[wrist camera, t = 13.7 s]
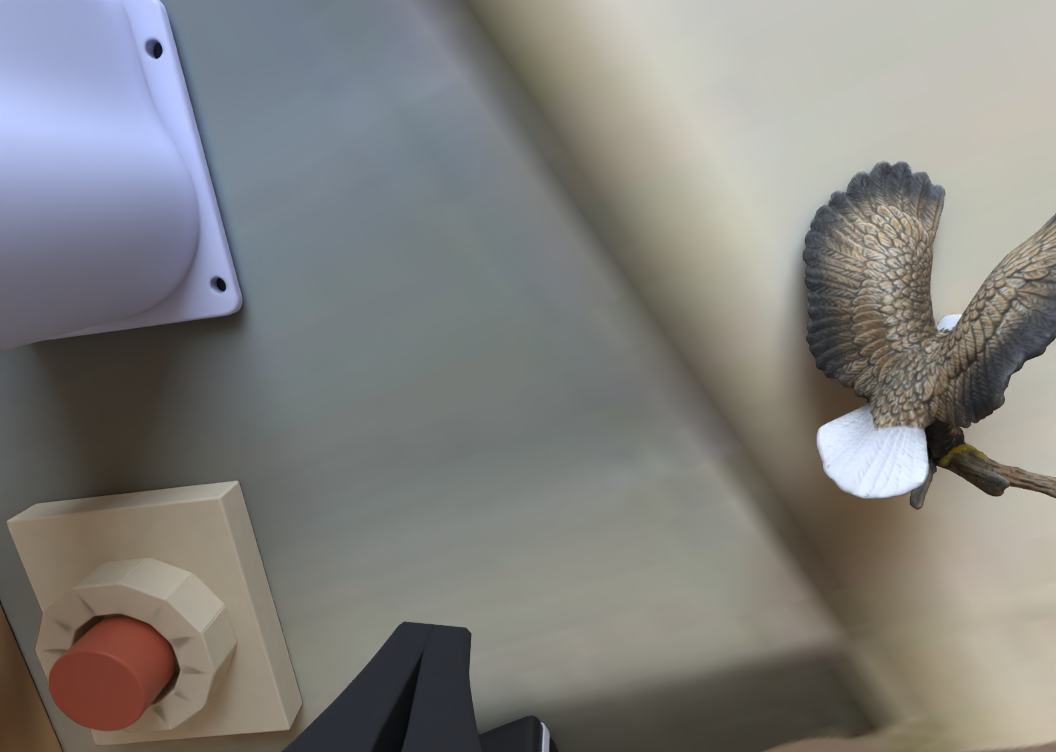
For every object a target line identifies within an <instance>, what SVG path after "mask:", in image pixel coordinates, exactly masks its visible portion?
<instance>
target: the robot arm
mask: <svg viewBox="0 0 1056 752" xmlns="http://www.w3.org/2000/svg"><path fill="white" fill-rule="evenodd" d="M157 43H160V44H161V46H162V52H163V53H162V55H161V57H160V58H158V59H156V58H155V56H154V54H153V48H154V46H155V44H157ZM218 278H221V279H223V280H224V282H225V283H226V290H225V291H224V292H223V291H221V290H220V289H219V288H218V287H217V279H218ZM241 306H242V295H241V291H240V287H239V283H238V280H237V276H236V272H235V268H234V264H233V261H232V257H231V253H230V249H229V245H228V242H227V238H226V234H225V230H224V227H223V223H222V219H221V215H220V211H219V208H218V204H217V200H216V196H215V192H214V189H213V185H212V181H211V177H210V173H209V170H208V166H207V162H206V158H205V155H204V151H203V147H202V143H201V139H200V136H199V132H198V128H197V124H196V120H195V117H194V113H193V109H192V105H191V101H190V98H189V94H188V90H187V86H186V82H185V79H184V75H183V71H182V67H181V64H180V60H179V56H178V52H177V48H176V45H175V41H174V37H173V33H172V29H171V26H170V22H169V18H168V14H167V11H166V9H165V7H164V5H163V4H162V3H161V1H160V0H0V352H2V351H5V350H9V349H13V348H16V347H20V346H24V345H27V344H31V343H34V342H38V341H44V340H52V339H59V338H66V337H74V336H81V335H88V334H96V333H103V332H110V331H118V330H125V329H132V328H139V327H147V326H154V325H161V324H169V323H176V322H183V321H191V320H198V319H205V318H213V317H220V316H227V315H230V314H233V313H236V312H237V311H238V310H239V309H240V308H241ZM470 648H471V633H470V632H469V630H468V629H467V628H464V627H453V626H443V625H433V624H423V623H413V622H403V623H402V624H400V625H399V626H398V627H397V628H396V630H395V631H394V632H393V634H392V635H391V636H390V637H389V639H388V640H387V641H386V642H385V644H384V645H383V646H382V647H381V649H380V650H379V651H378V652H377V654H376V655H375V656H374V657H373V658H372V659H371V661H370V662H369V663H368V664H367V665H366V667H365V668H364V669H363V670H362V671H361V672H360V673H359V674H358V676H357V677H356V678H355V679H354V680H353V681H352V682H351V683H350V684H349V685H348V687H347V688H346V689H345V690H344V691H343V692H342V693H341V694H340V695H339V696H338V697H337V698H336V700H335V701H334V702H333V703H332V704H331V705H330V706H329V707H328V708H327V709H326V710H325V711H324V712H323V713H322V714H321V715H320V716H318V717H317V718H316V719H315V720H314V721H313V722H312V723H311V724H310V725H309V726H308V727H307V728H306V729H305V730H304V731H303V732H302V733H301V734H300V735H299V736H298V737H297V738H296V739H295V740H294V741H292V742H291V743H290V744H289V745H288V746H287V747H286V748H285V749H284V750H282V751H281V752H482V748H481V744H480V740H479V736H478V731H477V726H476V721H475V715H474V709H473V703H472V696H471V689H470V680H469V665H470Z"/></svg>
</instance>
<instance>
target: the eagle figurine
mask: <svg viewBox="0 0 1056 752" xmlns="http://www.w3.org/2000/svg"><path fill="white" fill-rule="evenodd" d="M944 196H945V189H944V188H943V187H942V186H940V185H933V184H931V181H930V179H929V176H928V175H927V173H925V172H918V173H914V174H912V172H911V167H910V166H909V165H908V163H906V162H904V161H900V162H897V163H896V164H895V165H893V166H892V165H890V163H888V162H887V161H882V162H880V163H878V164H876V166H875V167H874V168H873V170H872V171H871V172H870V173H869V174H866V173H865V172H859V173H857V174H856V175H855V176H854V177H853V178H852V180H851V182H850V183H849V185H848V189H847V193H843V192H841V191H836V192H834V193H833V194H832V195H831V200H830V202H829V205H828V206H826V205H823V206H822V207H820V208H819V209H818V210H817V212H816V215H815V217H814V219H813V220H812V223H811V226H810V227H811V230H810V231H809V232H808V234H807V235H806V237H805V243H806V249H805V250H804V251H803V260H804V261H805V262H806V264H807V267H806V271H805V273H806V277H805V283H806V286H807V288H808V289H809V290H810V293H809V295H808V302H809V307H808V310H807V311H808V314H809V317H810V318H811V322H810V323H809V324H808V325H807V330H808V334H807V336H806V341H807V342H808V344H809V350H810V352H811V354H812V355H813V356H814V358H815V360H816V367H817V368H818V369H819V370H822V371H823V372H824V374H825V376H826V377H827V378H834V379H837V380H838V381H839V382H840V384H841V385H842V386H844V387H852V388H853V389H854V392H855V394H856V396H858V397H862V398H865V399H866V400H867V403H866V404H865V405H864V406H863V407H861V408H858V409H856V410H854V411H852V412H850V413H847V414H846V415H844V416H842V417H839V418H838V419H835V420H833V421H830V422H828V423H827V424H825V425H823V426H822V427H821V428H819V430H818V433H817V448H818V451H819V453H820V457H821V459H822V463H823V469H824V472H825V474H826V475H827V476H828V477H829V478H830V479H831V480H833V481H834V482H835V483H836V484H837V486H838V487H839V488H840V490H841V491H843V492H845V493H848V494H852V495H854V496H856V497H858V498H860V499H887V498H891V497H895V496H903V495H905V494H907V493H909V492H911V495H910V505H911V506H912V507H913V508H915V509H917V510H918V509H920V508H922V506H923V503H924V499H925V495H926V493H927V490H928V488H929V486H930V483H931V481H932V478H933V474H934V473H935V472H937V468H936V466H939V467H942V468H945V469H948V470H950V471H952V472H954V473H956V474H957V475H959V476H961V477H963V478H964V479H966V480H967V481H968V482H970V483H971V484H973V485H975V486H976V487H978V488H979V489H981V490H982V491H984V492H985V493H987V494H989V495H991V496H1001V495H1002V494H1003V493H1004V490H1005V489H1006V488H1008V487H1009V486H1012V487H1018V488H1023V489H1028V490H1033V491H1037V492H1041V493H1044V494H1046V495H1049V496H1051V497H1054V498H1056V478H1055V477H1050V476H1044V475H1039V474H1035V473H1031V472H1027V471H1025V470H1023V469H1020V468H1018V467H1011V466H1005V465H1002V464H999V463H997V462H995V461H993V460H991V459H989V458H988V457H987V456H986V455H985V454H984V453H983V452H980V451H979V450H977V449H976V448H974V447H973V446H971V445H969V444H967V443H965V442H964V434H963V430H962V429H961V428H960V427H963V428H968V427H970V426H971V422H973V423H978V422H979V421H980V420H981V419H984V418H985V417H986V416H989V415H991V414H992V413H993V411H994V410H996V409H998V408H1000V407H1001V406H1002V405H1003V404H1004V401H1005V397H1004V391H1005V389H1006V388H1007V387H1008V384H1009V380H1010V377H1011V375H1012V374H1013V373H1015V372H1017V371H1019V370H1020V369H1021V368H1022V366H1023V364H1024V363H1025V361H1027V360H1029V359H1032V358H1035V357H1038V356H1040V355H1042V354H1043V353H1044V352H1045V350H1046V347H1047V346H1048V345H1049V344H1050V343H1051V342H1052V341H1054V339H1055V338H1056V214H1055V215H1054V216H1053V217H1052V218H1051V219H1050V220H1048V221H1047V223H1046V224H1045V225H1044V226H1043V227H1042V228H1041V229H1040V230H1039V231H1038V232H1037V233H1035V234H1034V235H1033V236H1031V237H1030V238H1029V239H1028V240H1027V241H1025V242H1024V243H1022V244H1021V245H1019V246H1018V247H1017V248H1016V249H1014V250H1013V251H1012V252H1010V253H1009V254H1008V255H1006V256H1005V258H1004V259H1003V260H1002V261H1001V262H1000V263H999V264H998V265H997V267H996V268H995V269H994V270H993V271H992V272H991V273H990V275H989V276H988V277H987V279H986V280H985V281H984V283H983V284H982V286H981V288H980V289H979V290H978V292H977V293H976V295H975V296H974V298H973V299H972V301H971V302H970V304H969V305H968V307H967V308H966V310H965V311H964V313H963V314H962V315H947V316H944V317H943V318H942V319H941V321H940V323H939V324H938V326H937V327H936V325H935V321H934V317H933V311H932V301H931V296H930V279H931V270H932V260H933V242H934V238H935V234H936V231H937V228H938V224H939V218H940V216H941V212H942V210H943V205H944ZM959 426H960V427H959Z"/></svg>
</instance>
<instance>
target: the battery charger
mask: <svg viewBox="0 0 1056 752" xmlns="http://www.w3.org/2000/svg"><path fill="white" fill-rule="evenodd" d="M478 736H479V740H480V744H481V748H482V752H558V751H557V749H556V745H555V743H554V742H553V740H552V739H551V737H550V734H549V730H548V729H547V727H546V726H545V724H543V723H542V722H540V721H539V720H538V719H537V718H536V717H534V716H528V717H525V718H522V719H519V720H517V721H514V722H511V723H509V724H506V725H503V726H500V727H498V728H495V729H493V730H491V731H488V732H485V733H483V734H480V735H478Z"/></svg>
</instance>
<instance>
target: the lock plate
mask: <svg viewBox="0 0 1056 752" xmlns="http://www.w3.org/2000/svg"><path fill="white" fill-rule="evenodd" d="M0 752H63V751H62V749H61V746H60V744H59V742H58V739H57V737H56V735H55V732H54V730H53V728H52V725H51V723H50V720H49V718H48V716H47V713H46V711H45V709H44V706H43V704H42V702H41V699H40V697H39V695H38V692H37V690H36V687H35V685H34V683H33V680H32V678H31V676H30V673H29V671H28V669H27V666H26V664H25V662H24V659H23V657H22V654H21V652H20V650H19V647H18V645H17V643H16V640H15V638H14V636H13V633H12V631H11V628H10V626H9V624H8V621H7V619H6V617H5V614H4V612H3V610H2V607H1V605H0Z"/></svg>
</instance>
